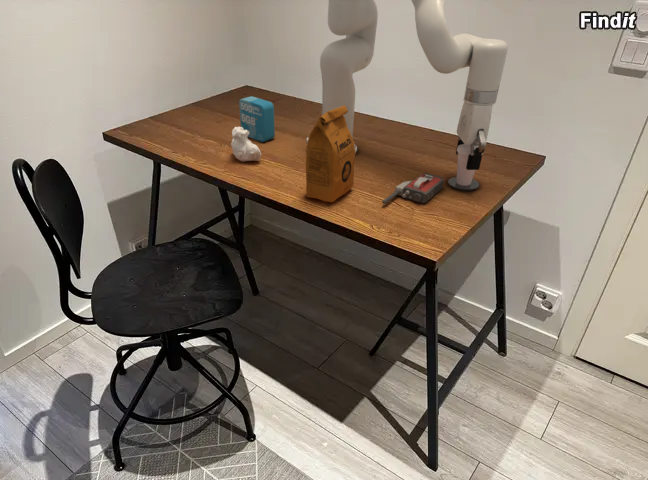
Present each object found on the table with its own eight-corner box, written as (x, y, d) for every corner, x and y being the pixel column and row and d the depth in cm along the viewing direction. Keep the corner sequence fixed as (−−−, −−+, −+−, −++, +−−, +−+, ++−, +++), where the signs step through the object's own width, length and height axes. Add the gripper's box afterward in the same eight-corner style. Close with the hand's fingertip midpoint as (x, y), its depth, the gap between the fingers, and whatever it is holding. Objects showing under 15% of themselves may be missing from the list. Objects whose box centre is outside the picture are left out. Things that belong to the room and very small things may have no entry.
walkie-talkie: (415, 179, 142) (379, 206, 129) (417, 163, 139) (380, 190, 126) (445, 187, 137) (411, 216, 124) (448, 171, 135) (413, 199, 122)
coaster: (452, 191, 135) (452, 189, 135) (444, 178, 142) (444, 176, 141) (482, 191, 135) (483, 189, 135) (473, 178, 142) (474, 176, 141)
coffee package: (359, 191, 136) (365, 107, 124) (331, 208, 129) (334, 120, 116) (329, 181, 142) (331, 100, 129) (300, 196, 134) (300, 112, 121)
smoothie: (477, 188, 135) (488, 136, 127) (451, 186, 136) (461, 135, 128) (474, 178, 140) (485, 127, 132) (450, 176, 141) (459, 126, 133)
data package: (240, 134, 173) (238, 98, 166) (251, 131, 176) (249, 95, 169) (264, 143, 166) (263, 105, 159) (275, 139, 168) (274, 102, 162)
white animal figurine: (233, 160, 160) (212, 138, 151) (247, 141, 161) (227, 118, 152) (257, 172, 153) (237, 149, 144) (272, 151, 153) (253, 127, 144)
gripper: (455, 85, 132) (444, 149, 142) (475, 106, 118) (461, 175, 128) (485, 85, 132) (471, 149, 142) (508, 106, 118) (492, 175, 128)
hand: (466, 161), depth 135 cm, fingers open, 9 cm apart
